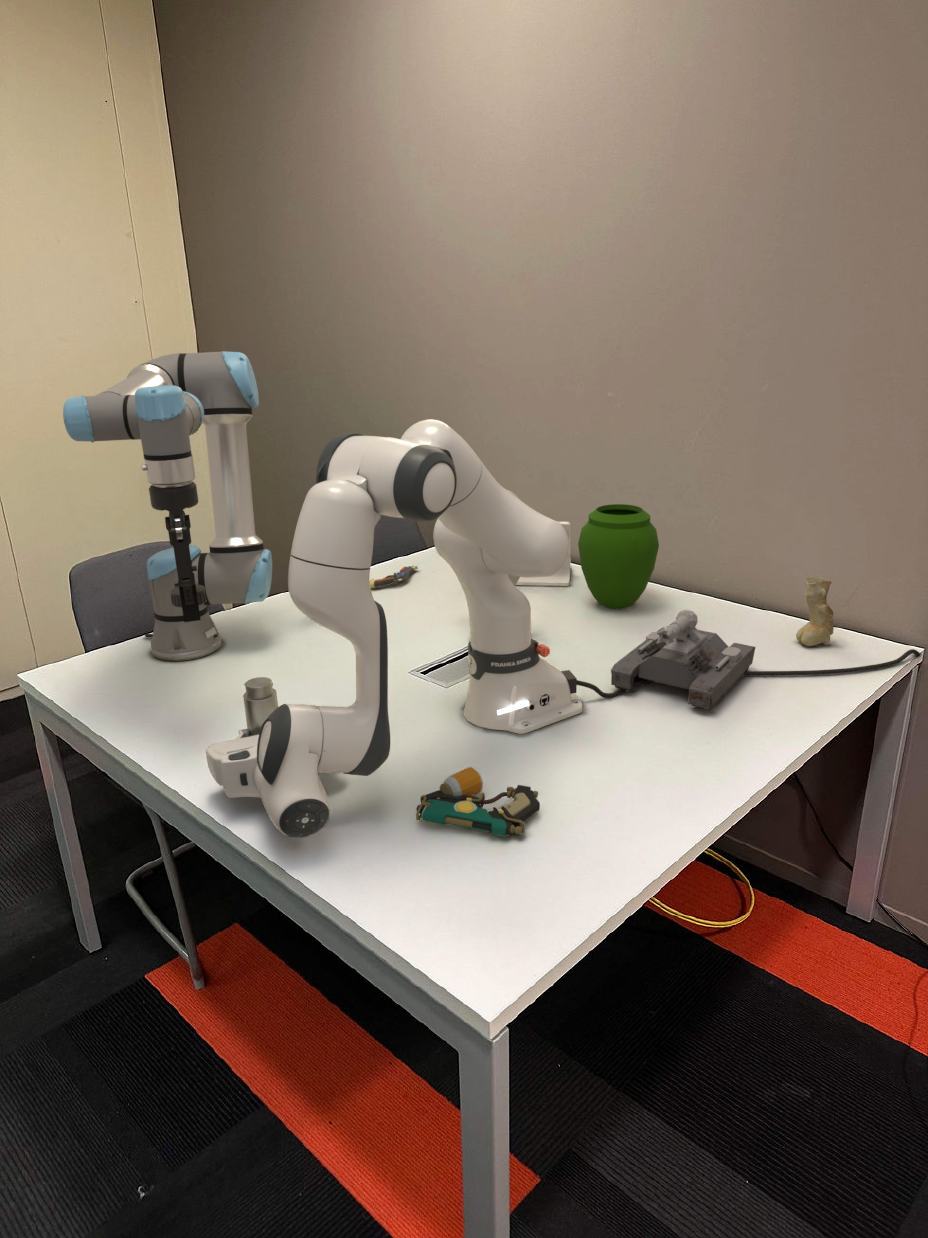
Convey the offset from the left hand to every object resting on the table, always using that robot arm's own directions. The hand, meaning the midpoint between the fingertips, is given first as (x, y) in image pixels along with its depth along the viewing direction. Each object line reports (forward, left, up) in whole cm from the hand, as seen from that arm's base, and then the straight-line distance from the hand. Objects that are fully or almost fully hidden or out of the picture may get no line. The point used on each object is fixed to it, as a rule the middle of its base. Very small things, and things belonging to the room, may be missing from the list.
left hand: (191, 614), depth 149 cm
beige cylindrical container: (+19, 0, -23) cm, 30 cm away
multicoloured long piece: (-40, +82, -23) cm, 94 cm away
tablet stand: (-14, +108, -23) cm, 111 cm away
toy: (+55, +74, -23) cm, 95 cm away
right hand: (+18, 0, -16) cm, 24 cm away
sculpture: (+67, +109, -23) cm, 130 cm away
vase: (+20, +104, -23) cm, 108 cm away
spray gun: (+56, +12, -23) cm, 62 cm away
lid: (0, 0, +4) cm, 4 cm away
